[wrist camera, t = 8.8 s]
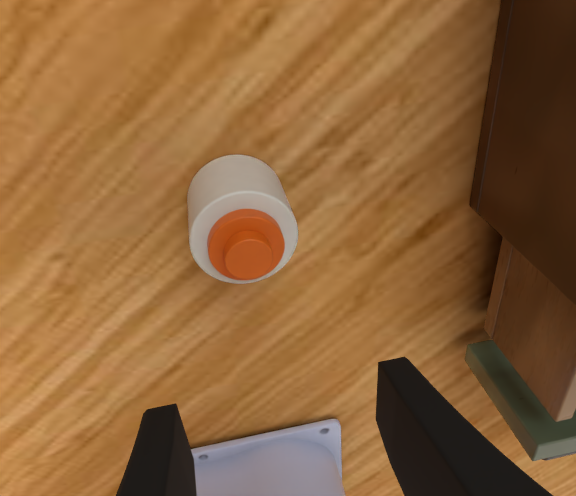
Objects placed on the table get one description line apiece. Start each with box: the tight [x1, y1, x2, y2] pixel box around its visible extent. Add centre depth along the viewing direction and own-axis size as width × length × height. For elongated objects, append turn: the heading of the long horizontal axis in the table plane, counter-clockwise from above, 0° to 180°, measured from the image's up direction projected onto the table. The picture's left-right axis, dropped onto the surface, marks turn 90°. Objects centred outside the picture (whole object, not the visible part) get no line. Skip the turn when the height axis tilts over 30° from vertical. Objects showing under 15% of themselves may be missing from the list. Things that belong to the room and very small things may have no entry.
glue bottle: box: [187, 155, 298, 284], centre depth 18 cm, size 4×4×4 cm
